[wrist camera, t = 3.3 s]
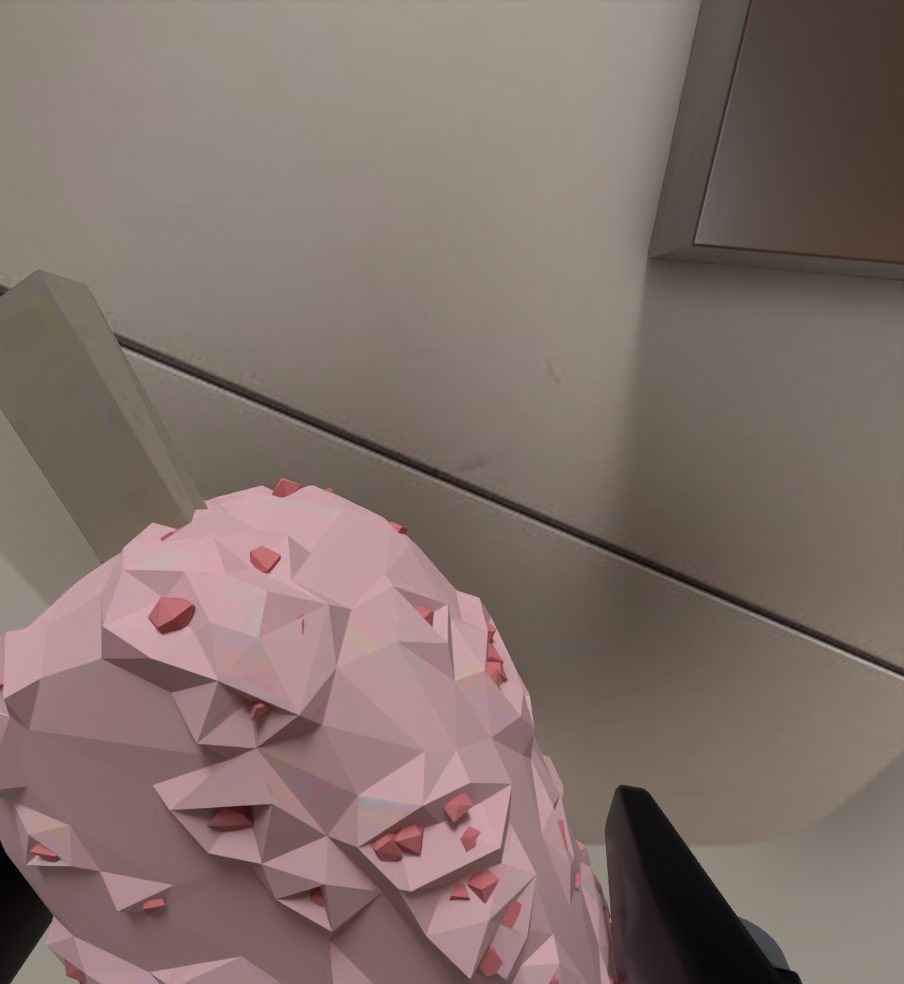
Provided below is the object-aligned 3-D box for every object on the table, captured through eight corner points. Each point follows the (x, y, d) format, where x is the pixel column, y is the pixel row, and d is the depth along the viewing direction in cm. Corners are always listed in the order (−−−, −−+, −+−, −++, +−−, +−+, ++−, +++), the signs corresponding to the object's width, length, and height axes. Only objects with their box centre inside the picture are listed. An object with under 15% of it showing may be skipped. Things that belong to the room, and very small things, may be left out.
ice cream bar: (141, 25, 2) (739, 1332, 7) (362, 203, 6) (647, 947, 11) (-579, 452, 4) (313, 1329, 8) (-16, 378, 8) (375, 985, 12)
